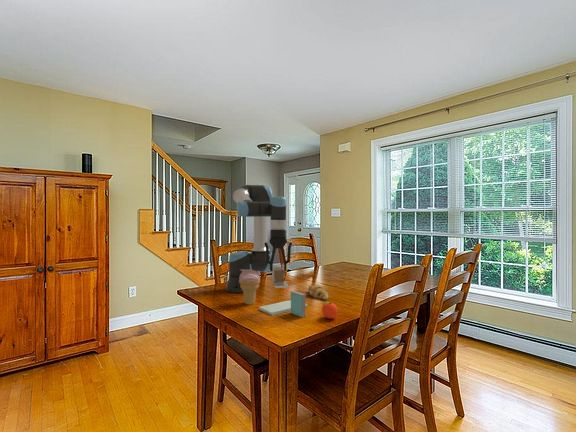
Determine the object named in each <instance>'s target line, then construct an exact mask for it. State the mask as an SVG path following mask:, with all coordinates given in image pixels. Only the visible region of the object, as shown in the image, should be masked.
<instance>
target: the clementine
mask: <svg viewBox="0 0 576 432" xmlns="http://www.w3.org/2000/svg"><path fill="white" fill-rule="evenodd" d="M321 313H322V315H323V316H324V317H325V318H326V319H329V320H330V319H334V318H335V317H336V316H337V315H338V307H337V305H336V304H335V303H333V302H330V301H326V302H324V303H323V305H322V307H321Z"/></svg>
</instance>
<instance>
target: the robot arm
mask: <svg viewBox="0 0 576 432" xmlns="http://www.w3.org/2000/svg"><path fill="white" fill-rule="evenodd" d="M232 199H233V201H234V203H236V214H237V217H242V218H245V217H247V218H248V217H249V218H253V247H252V249H251V250H250V251H251V252H249V251H248V250H239V251H235V252H232V253H230V254H229V255H228V278H227V281H226V286H225V291H226V292H228V293H234V294H235V293H236V294H238V293H243V290H242V288H241V287H240V286H241V284H240V283H239V277H240V274H241V273H242V271H241V270H250V264H251V269H252V270H254V271H257V272H258V273H265V272H271V276H272V277H271V279H272V280H273V279H274V267H275V264H274V259H275V254H276V250H277V249H280V253H281V258H282V262H283V263H281V268H282V269H283V270H284V272H286V271H287V265H288V264H290V263H291V256H292V255H291V251H292V250H291V247H292V245H293V242H291V241H288V239H287V229H286V228H287V199H286V197H285V196H273V191H272V189H271V187H270V186H269V185H263V184H261V185H259V184H243V185H240V186H238V187H236V188H235V189H234V191H233V192H232ZM268 217H269V218H270V220H269V221H270V222H269V224H270V230H269V231H270V232H269V233H270V235H269V237H270V238H269V241H268ZM270 245H271V246H272V248H271V249H272V251H271V249H270V248H269V247H270ZM285 246H287V250H286V251H287V254H285V249H284V248H285ZM286 255H287V256H286Z"/></svg>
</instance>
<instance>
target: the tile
mask: <svg viewBox="0 0 576 432" xmlns="http://www.w3.org/2000/svg"><path fill="white" fill-rule="evenodd" d="M290 300H291V311H290V314H292V315H295V316H298V317H300V318H305V317H306V307H305V303H306V294H305V293H302V292H299V291H295V290H292V291H290Z"/></svg>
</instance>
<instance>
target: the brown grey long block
mask: <svg viewBox="0 0 576 432" xmlns="http://www.w3.org/2000/svg"><path fill="white" fill-rule="evenodd" d="M284 279H285V271H284V270H283V269H282V266H274V279H273V278H272V285H273V286H274V288H275V289H280V288H281V289H283V288H284V289H285V288H290V286H289V284H288V282H287V281H286V280H284Z"/></svg>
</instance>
